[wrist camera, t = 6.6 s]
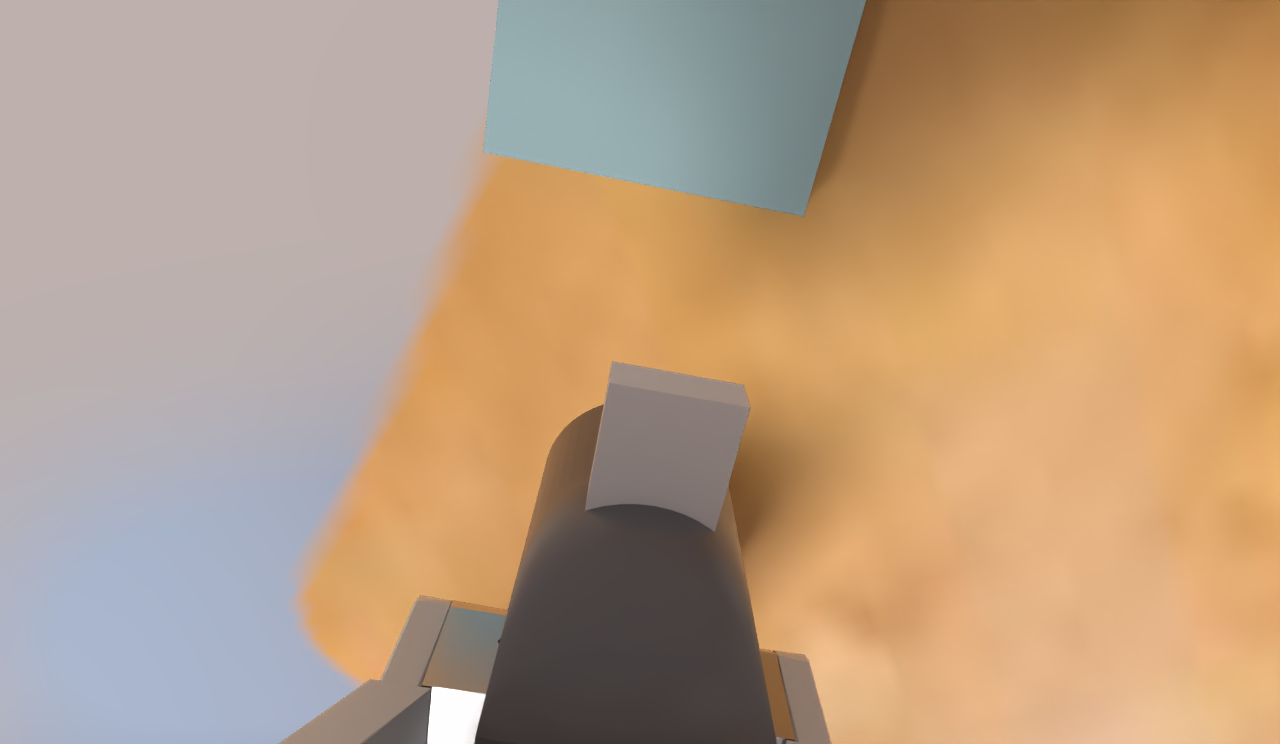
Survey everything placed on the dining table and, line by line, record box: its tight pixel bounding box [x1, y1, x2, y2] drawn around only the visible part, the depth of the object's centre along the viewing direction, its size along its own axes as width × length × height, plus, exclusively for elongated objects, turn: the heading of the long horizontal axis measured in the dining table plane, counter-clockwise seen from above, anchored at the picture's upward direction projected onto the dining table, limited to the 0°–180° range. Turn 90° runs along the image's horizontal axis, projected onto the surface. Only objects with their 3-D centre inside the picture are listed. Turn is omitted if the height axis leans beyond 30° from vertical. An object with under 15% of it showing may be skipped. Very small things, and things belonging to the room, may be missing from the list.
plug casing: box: [474, 361, 777, 744], centre depth 10 cm, size 3×9×5 cm, turn 169°
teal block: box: [483, 0, 866, 216], centre depth 16 cm, size 8×8×1 cm
